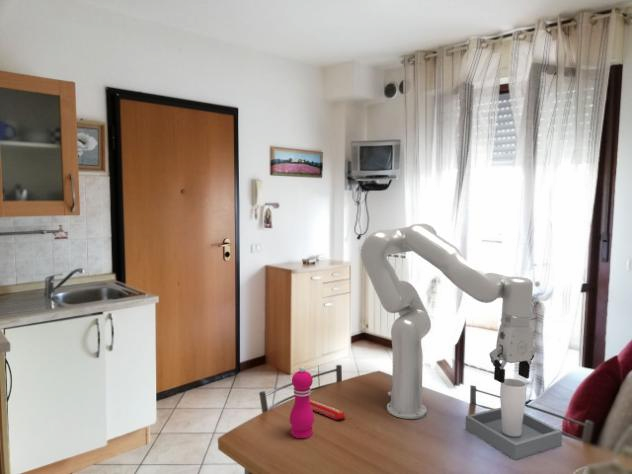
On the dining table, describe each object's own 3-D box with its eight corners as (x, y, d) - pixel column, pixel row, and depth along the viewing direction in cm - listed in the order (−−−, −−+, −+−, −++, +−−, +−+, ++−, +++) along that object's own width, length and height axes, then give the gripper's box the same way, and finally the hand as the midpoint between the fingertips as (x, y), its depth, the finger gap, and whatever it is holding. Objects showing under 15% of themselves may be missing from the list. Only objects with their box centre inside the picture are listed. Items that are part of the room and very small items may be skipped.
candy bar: (347, 419, 138) (347, 410, 138) (340, 423, 135) (340, 414, 135) (308, 404, 148) (309, 396, 148) (301, 408, 146) (301, 399, 145)
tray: (465, 428, 132) (465, 415, 132) (509, 417, 140) (509, 405, 139) (515, 460, 116) (515, 445, 116) (561, 445, 123) (562, 431, 123)
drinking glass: (527, 440, 124) (529, 388, 123) (501, 437, 125) (503, 386, 124) (520, 429, 130) (523, 379, 129) (496, 426, 132) (498, 377, 131)
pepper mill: (284, 433, 128) (284, 366, 127) (301, 425, 133) (302, 360, 132) (301, 442, 123) (302, 372, 122) (319, 433, 129) (320, 366, 127)
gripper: (503, 326, 119) (499, 388, 120) (548, 321, 126) (543, 379, 127) (482, 319, 125) (479, 378, 127) (525, 315, 133) (521, 370, 134)
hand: (511, 378), depth 127 cm, fingers open, 9 cm apart
